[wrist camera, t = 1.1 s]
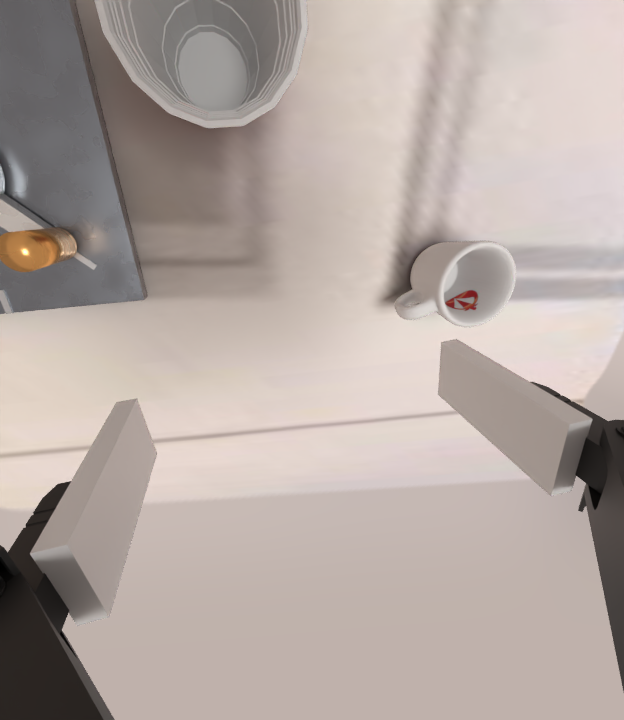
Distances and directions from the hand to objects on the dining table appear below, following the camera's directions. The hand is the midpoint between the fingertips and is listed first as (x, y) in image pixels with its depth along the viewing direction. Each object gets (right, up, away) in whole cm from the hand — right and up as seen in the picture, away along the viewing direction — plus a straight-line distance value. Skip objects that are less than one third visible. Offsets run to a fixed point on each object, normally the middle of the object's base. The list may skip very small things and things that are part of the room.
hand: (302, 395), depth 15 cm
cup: (+13, +11, +24) cm, 30 cm away
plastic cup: (-8, +24, +13) cm, 29 cm away
